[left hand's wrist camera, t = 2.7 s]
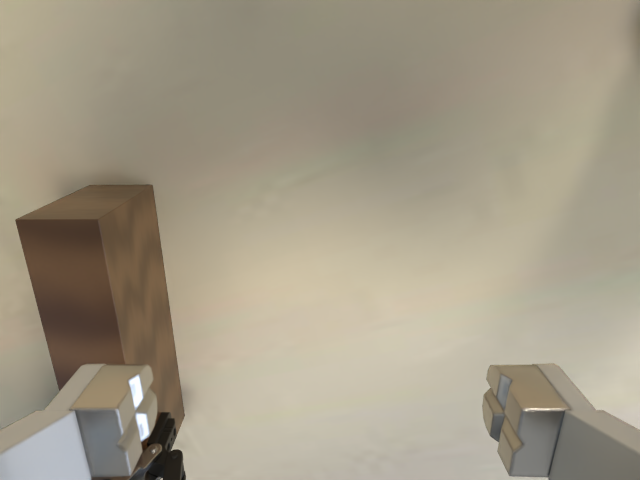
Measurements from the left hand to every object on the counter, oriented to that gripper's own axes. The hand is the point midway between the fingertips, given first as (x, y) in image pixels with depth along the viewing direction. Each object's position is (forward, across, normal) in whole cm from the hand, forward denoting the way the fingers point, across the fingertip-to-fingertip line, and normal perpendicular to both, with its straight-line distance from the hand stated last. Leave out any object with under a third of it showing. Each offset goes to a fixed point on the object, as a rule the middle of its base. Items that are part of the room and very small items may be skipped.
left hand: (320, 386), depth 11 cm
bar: (+26, +16, +13) cm, 33 cm away
